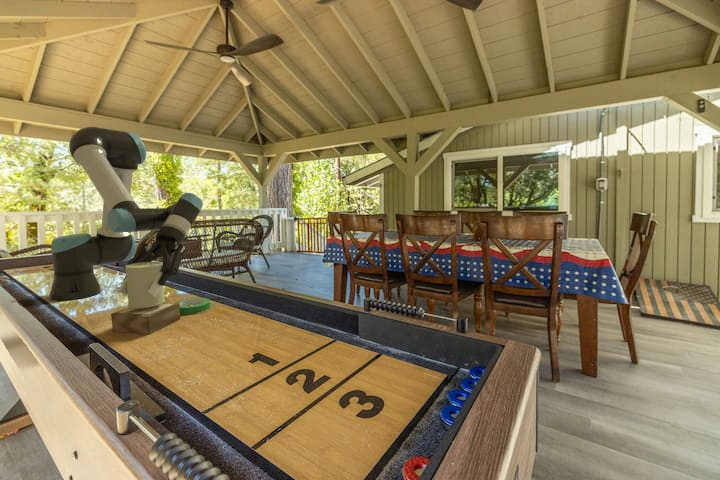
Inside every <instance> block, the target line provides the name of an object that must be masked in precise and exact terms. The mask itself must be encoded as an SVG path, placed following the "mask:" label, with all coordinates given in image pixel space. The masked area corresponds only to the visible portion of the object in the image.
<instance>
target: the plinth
mask: <svg viewBox="0 0 720 480" xmlns="http://www.w3.org/2000/svg"><path fill="white" fill-rule="evenodd" d="M110 315H111V328H112V329H111V330H112V332H116V333H117V332H118V333H130V334H131V333H133V334H142V335H143V334H144V335H151V334H154V333H155V332H158V331H160V330H162V329H163V328H166V327H168V326H170V325H172V324H173V323H174V324H175V323H176V322H178V321H180V320H181V314H180V305H179V304H177V303H176V302H174V303H173V302H164V303H162V304H160V305H156V306H152V307H146V308H131V307H127V308H123V309H121V310H118V311H115V312H113V313H111V314H110Z"/></svg>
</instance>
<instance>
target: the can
mask: <svg viewBox="0 0 720 480" xmlns="http://www.w3.org/2000/svg"><path fill="white" fill-rule="evenodd" d="M124 267H125V269H126V270H125V269H124V270H125V276H126V278H127V291H128V294H127V302H128V303H127V308H129V307H131V308H146V307H152V306H156V305H160V304H162V303H166V302H165V301H166V300H165V292H164V291H165V290H164V285H163V286H161V288H160V290H159V292H158V294H157V295H156V297H153V296H152V295H151V294H149V293H148V290H149V289H150V287H151V285H152V284H153V282H154V280H155V278H156V277H157V275H158V274H159V272H161V273H162V274H163V272H162V271H161V270H162V268H163V262H159V261H152V262H141V263H134V264H129V265H127V264H125V266H124Z"/></svg>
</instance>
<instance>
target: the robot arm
mask: <svg viewBox="0 0 720 480" xmlns="http://www.w3.org/2000/svg"><path fill="white" fill-rule="evenodd" d="M143 141H144V140H143V139H142V138H141V137H140V136H139V135H138V134H136V133H131V132H127V131H123V130H115V129H111V128H103V127H98V126H86V127H83V128H80V129H79V130H77V131H76V132H74V134H72V136H71V138H70V139H69V143H68V148H69V153H70V155H71V157H72V159H73V160H74V162H75V163H76V164H77V165H79V166H81V167H82V168H83V170H84V172H85V173H86V175H87V176H88V178H89V180H90V181H91V183H92V184H93V186H94V187H95V189H96V190H97V192H98V194H99V196H100V197H101V199H102V201H103V204H102V219H101V226H100V227H99V228H97V229H96V232H95V233H96V235H93V236H92V235H91V234H90V233H89V232H88V233H87V232H86V233H84V232H82V233H74V234H67V235H62V236H58V237H55V238H53V240H52V241H51V250H50V252H51V257H52V266H53V276H54V278H53V282H52V283H51V289H50V291H49V298H50V300H52V299H54V300H53V301H68V300H67V299H71V300H78V299H84V298H89V297H93V296H95V295H98V294H101V293H102V288H101V287H102V286H101V285H100V284H99V281H98V279H97V277H96V275H95V271H94V267H95V266H100V265H107V264H108V265H109V264H115V263H122V262H126V261H129V262H127V264H126V265H129V264H134V263H141V262H154V261H156V260H157V259H159V258H162V270H161V271H162V272H163V274H162V273H161V272H159V274H158V275H157V277H156V278H155V280H154V282H153V284H152V285H151V287H150V289H149V290H148V293H149V294H151V295H152V296H153V297H156V295H157V294H158V292H159V290H160V288H161V286H163V287H164V285H166V282H167V281H168V279H169V278H170V277H171V276H176V275H178V273H179V269H180V266H181V263H182V259H183V256H184V254H185V253H186V251H187V249H186V247H185V246H184V245H183V242H184V240H185V238H186V237H187V235H188V233H189V231H190V229H191V228H192V226H193V224H194V223H195V221H196V220H197V218H198V216H199V214H200V213H201V210H202V209H203V205H204V202H203V199H202V198H201V197H199V196H198V195H197V194H195V193H192V192H184V193H182V194H181V195H180V197H178V199H177V202H175V203H173V204H171V205H170V206H167V207H158V208H157V207H155V208H153V207H151V208H149V207H148V208H147V207H145V208H141V207H139V205H138V204H137V202H136V200H134V198H133V197H132V194H131V193H132V182H133V174H134V173H135V172H136V171H138V167H139V165H142V164H144V163H145V161H146V158H147V149H146V145H145V143H144V142H143ZM146 231H151V232H153V231H158V232H157V234H156V235H155V241H153V242H152V244H148V243H143V244H142V245H141V248H140V249H139V250H138V251H137V245H138V244H137V242H136V241H137V240H136V238H135V236H134V235H133V234H132V233H134V232H135V233H137V232H146ZM136 251H137V252H136ZM124 270H125V271H126V269H125V266H124ZM117 291H118V292H119V293H121V294H122V295H124V296H128V291H127V278H126V275H125V277H124V278H123V279H122V283H121V285H120V287H118V289H117Z"/></svg>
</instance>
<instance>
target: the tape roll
mask: <svg viewBox="0 0 720 480" xmlns="http://www.w3.org/2000/svg"><path fill="white" fill-rule="evenodd" d="M175 303H177V304H179V305H180V315H191V314H190V313H195V314H198V313H197V312H200V313H203V312H206V311H208V310H210V309H211V299H209V298H207V297H191V298H185V299H181V300H179V301H176V302H175ZM191 305H193V306H191ZM209 308H210V309H209ZM207 309H208V310H207ZM205 310H206V311H205ZM202 311H203V312H202Z"/></svg>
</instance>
